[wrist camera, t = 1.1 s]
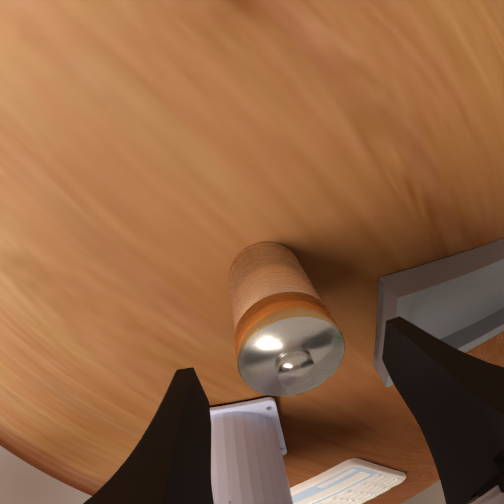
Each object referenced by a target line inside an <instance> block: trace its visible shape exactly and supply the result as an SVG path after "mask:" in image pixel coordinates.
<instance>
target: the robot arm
mask: <svg viewBox="0 0 504 504" xmlns="http://www.w3.org/2000/svg"><path fill="white" fill-rule="evenodd" d="M382 360H383V362H384V365H385V367H386V369H387V371H388V374H389V376H390V378H391V380H392V382H393V383H394V385H395V386H396V388H397V390H398V391H399V393H400V395H401V396H402V398H403V399H404V401H405V403H406V404H407V406H408V407H409V409H410V411H411V412H412V414H413V415H414V417H415V419H416V420H417V422H418V424H419V426H420V428H421V430H422V432H423V434H424V437H425V439H426V441H427V444H428V446H429V449H430V451H431V454H432V456H433V459H434V462H435V465H436V468H437V471H438V474H439V477H440V480H441V484H442V488H443V492H444V496H445V500H446V504H470V503H471V504H504V368H503V367H500V366H497V365H494V364H491V363H488V362H485V361H483V360H480V359H478V358H475V357H473V356H471V355H468V354H466V353H464V352H462V351H460V350H458V349H456V348H454V347H452V346H450V345H448V344H447V343H445V342H443V341H441V340H439V339H438V338H436V337H434V336H432V335H431V334H429V333H427V332H426V331H424V330H422V329H421V328H419V327H417V326H416V325H414V324H412V323H411V322H409V321H407V320H405V319H404V318H402V317H400V316H399V317H396V318H393V319H390V320H387V321H386V325H385V336H384V346H383V354H382ZM286 453H287V450H286V445H285V441H284V437H283V433H282V428H281V424H280V420H279V416H278V411H277V407H276V403H275V399H274V398H272V397H266V398H262V399H257V400H252V401H246V402H241V403H236V404H230V405H224V406H218V407H211V408H210V407H209V401H208V399H207V397H206V395H205V392H204V390H203V388H202V386H201V384H200V382H199V379H198V377H197V375H196V373H195V370H194V368H186V369H180V370H177V371H176V372H175V374H174V376H173V379H172V381H171V383H170V385H169V388H168V390H167V392H166V394H165V396H164V398H163V400H162V402H161V404H160V406H159V408H158V410H157V412H156V414H155V416H154V418H153V419H152V421H151V423H150V425H149V426H148V428H147V430H146V431H145V433H144V435H143V437H142V438H141V440H140V441H139V443H138V444H137V446H136V447H135V449H134V450H133V451H132V453H131V454H130V456H129V457H128V458H127V460H126V461H125V462H124V463H123V465H122V466H121V467H120V468H119V469H118V471H117V472H116V473H115V474H114V475H113V476H112V477H111V479H110V480H109V481H108V482H107V483H106V484H105V485H104V486H103V487H101V488H100V489H99V490H98V491H97V492H96V493H95V494H94V495H93V496H92V497H91V498H90V499H88V500H87V501H86V502H85V503H84V504H293V500H292V496H291V492H290V487H289V483H288V478H287V474H286V469H285V465H284V460H283V456H282V455H285V454H286ZM476 499H477V500H476ZM473 501H474V502H473Z"/></svg>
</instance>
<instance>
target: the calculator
mask: <svg viewBox="0 0 504 504" xmlns="http://www.w3.org/2000/svg"><path fill="white" fill-rule="evenodd" d="M405 479H406V474H405V473H404V472H400V471H397V470H393V469H390V468H387V467H383V466H380V465H377V464H374V463H371V462H368V461H365V460H361V459H358V458H351V459H348V460H346V461H344V462H342V463H340V464H338V465H336V466H334V467H333V468H331V469H329V470H327V471H325V472H323V473H321V474H319V475H317V476H315V477H313V478H311V479H309V480H307V481H305V482H302V483H300V484H298V485H296V486H294V487H291V488H290V492H291V496H292V500H293V504H363V503H364V502H366V501H368V500H370V499H373V498H375V497H376V496H378V495H379V494H381V493H384V492H386V491H388V490H389V489H390V488H392V487H394V486H396V485H398V484H400V483H402V482H403V481H404V480H405Z"/></svg>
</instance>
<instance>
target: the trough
mask: <svg viewBox="0 0 504 504" xmlns="http://www.w3.org/2000/svg"><path fill="white" fill-rule="evenodd" d="M399 316H400V317H402V318H404V319H405V320H407V321H409V322H411V323H412V324H414V325H416V326H417V327H419V328H421V329H422V330H424V331H426V332H427V333H429V334H431V335H432V336H434V337H436V338H438V339H439V340H441V341H443V342H445V343H447V344H448V345H450V346H452V347H454V348H456V349H458V350H460V351H462V352H464V353H465V352H467V351H469V350H470V349H472V348H474V347H476V346H478V345H480V344H482V343H483V342H485V341H487V340H489V339H491V338H492V337H494V336H496V335H497V334H499V333H501V332H502V331H504V238H503V239H500V240H497V241H495V242H492V243H489V244H486V245H483V246H480V247H477V248H474V249H471V250H468V251H465V252H462V253H459V254H456V255H453V256H450V257H447V258H444V259H440V260H437V261H434V262H431V263H428V264H424V265H421V266H418V267H414V268H411V269H408V270H404V271H401V272H397V273H394V274H390V275H387V276H383V277H380V278H379V280H378V310H377V327H376V341H375V353H374V363H373V366H374V367H375V369H376V371H377V373H378V374H379V376H380V378H381V379H382V381H383V383H384V384H385V386H386V387H388V386H391V385H393V384H394V383H393V382H392V380H391V378H390V376H389V374H388V371H387V369H386V367H385V365H384V362H383V360H382V354H383V346H384V336H385V325H386V321H387V320H390V319H393V318H396V317H399Z"/></svg>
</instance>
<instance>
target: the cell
mask: <svg viewBox="0 0 504 504" xmlns="http://www.w3.org/2000/svg"><path fill="white" fill-rule="evenodd" d="M229 282H230V291H231V301H232V310H233V319H234V327H235V347H236V355H237V364H238V370H239V373H240V376H241V377H242V379H243V380H244V382H245V383H246V384H247V385H248V386H250V387H251V388H252V389H254V390H256V391H257V392H260V393H262V394H266V395H271V396H291V395H296V394H300V393H304V392H306V391H309V390H311V389H313V388H315V387H317V386H319V385H320V384H322V383H323V382H325V381H326V380H327V379H328V378H329V377H331V376H332V374H333V373H334V372H335V371H336V370H337V368H338V367H339V365H340V363H341V361H342V359H343V355H344V349H345V344H344V338H343V335H342V333H341V332H340V330H339V328H338V326H337V324H336V323H335V321H334V319H333V317H332V316H331V314H330V312H329V311H328V309H327V307H326V306H325V305H324V304H323V303H322V301H321V299H320V297H319V296H318V294H317V292H316V290H315V289H314V287H313V285H312V283H311V282H310V280H309V278H308V277H307V275H306V273H305V271H304V270H303V268H302V266H301V265H300V263H299V261H298V260H297V258H296V256H295V255H294V254H293V252H292V251H291V250H289V249H288V248H287V247H285V246H283V245H281V244H278V243H273V242H262V243H257V244H254V245H251V246H249V247H247V248H245V249H244V250H243V251H241V252H240V253H239V254H238V255H237V257H236V258H235V259H234V261H233V263H232V265H231V268H230V272H229Z"/></svg>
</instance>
